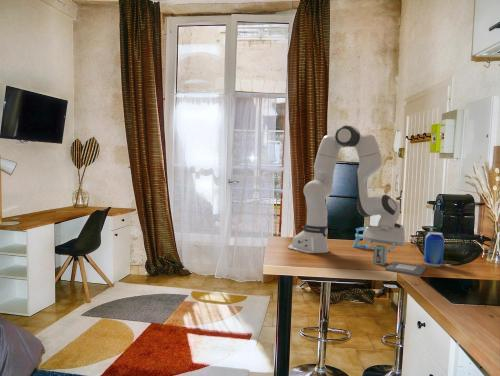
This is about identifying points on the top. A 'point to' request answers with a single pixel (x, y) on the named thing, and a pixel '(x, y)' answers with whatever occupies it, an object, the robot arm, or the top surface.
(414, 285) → the top surface
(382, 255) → the slotted cup
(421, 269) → the card
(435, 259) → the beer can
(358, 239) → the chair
